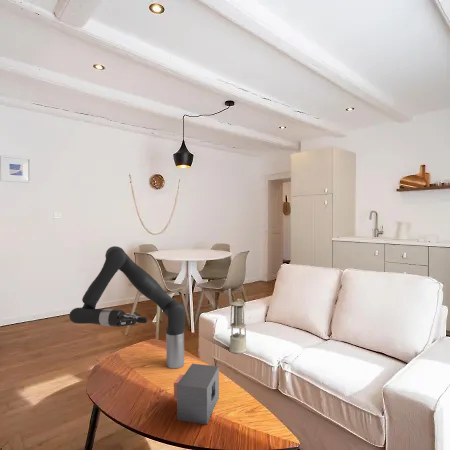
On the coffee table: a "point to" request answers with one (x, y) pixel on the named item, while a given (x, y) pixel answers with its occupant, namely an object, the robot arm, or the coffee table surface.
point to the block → (198, 393)
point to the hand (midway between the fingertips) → (146, 320)
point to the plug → (176, 386)
